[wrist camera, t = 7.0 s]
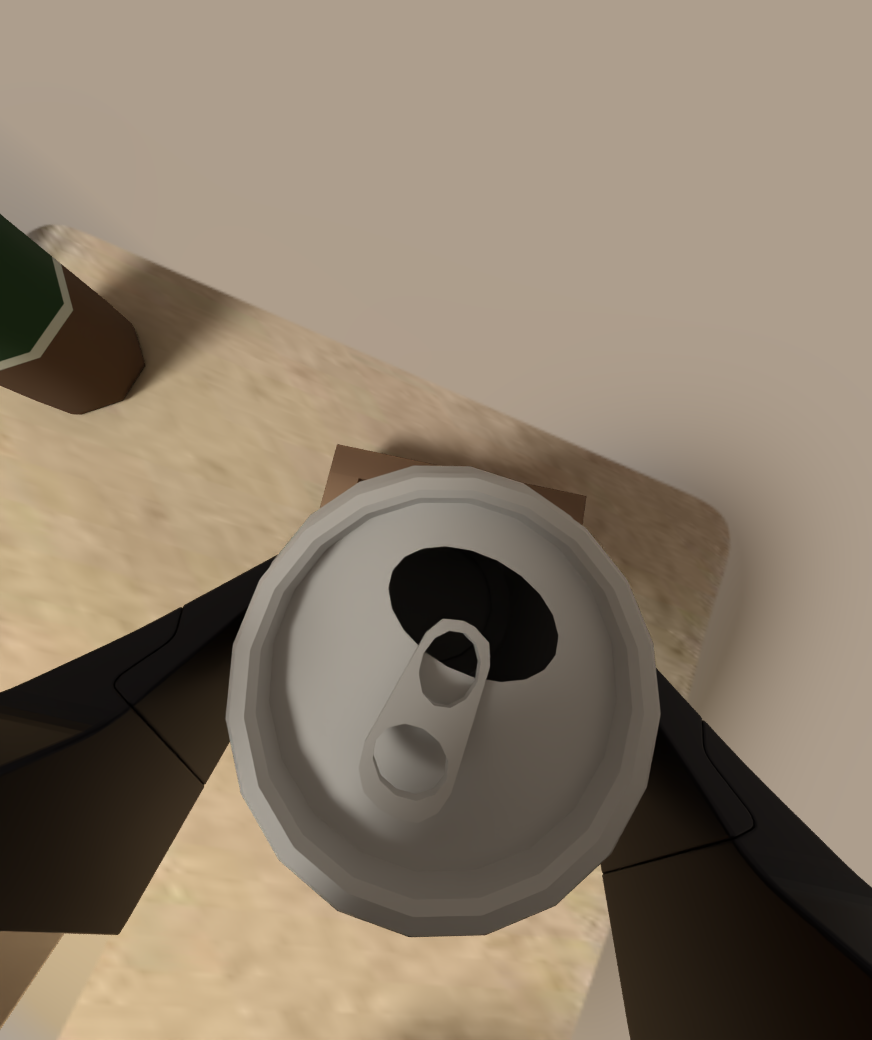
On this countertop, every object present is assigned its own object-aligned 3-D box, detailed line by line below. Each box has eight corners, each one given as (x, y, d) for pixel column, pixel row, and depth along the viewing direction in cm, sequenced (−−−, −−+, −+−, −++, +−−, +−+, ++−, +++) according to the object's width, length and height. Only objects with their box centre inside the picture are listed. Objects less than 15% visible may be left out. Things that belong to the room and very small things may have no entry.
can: (528, 568, 16) (788, 564, 5) (466, 705, 15) (597, 1174, 3) (403, 504, 17) (344, 349, 5) (333, 633, 16) (40, 831, 4)
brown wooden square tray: (521, 728, 18) (547, 774, 14) (300, 680, 18) (264, 712, 14) (554, 510, 20) (586, 496, 16) (355, 468, 20) (336, 444, 16)
